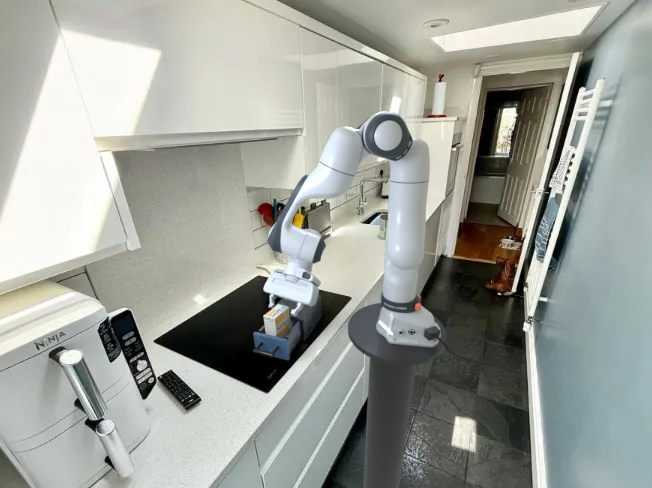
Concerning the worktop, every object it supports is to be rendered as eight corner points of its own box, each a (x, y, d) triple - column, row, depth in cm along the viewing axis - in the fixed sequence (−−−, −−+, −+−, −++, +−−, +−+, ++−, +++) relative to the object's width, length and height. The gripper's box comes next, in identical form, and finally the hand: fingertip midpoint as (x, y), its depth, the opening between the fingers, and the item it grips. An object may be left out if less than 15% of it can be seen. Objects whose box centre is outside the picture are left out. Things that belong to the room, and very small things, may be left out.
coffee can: (387, 233, 210) (388, 213, 204) (398, 237, 202) (399, 216, 196) (375, 236, 205) (376, 215, 199) (386, 240, 197) (387, 219, 191)
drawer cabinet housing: (305, 341, 110) (303, 319, 106) (271, 333, 115) (269, 312, 110) (321, 316, 124) (321, 295, 119) (291, 310, 128) (289, 290, 124)
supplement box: (278, 351, 102) (274, 319, 97) (267, 347, 105) (262, 315, 99) (292, 337, 109) (289, 306, 103) (281, 333, 111) (277, 303, 105)
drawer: (281, 371, 96) (279, 351, 92) (247, 361, 100) (244, 342, 97) (307, 332, 113) (306, 315, 109) (277, 326, 117) (276, 308, 114)
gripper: (268, 265, 109) (253, 301, 106) (317, 277, 99) (302, 317, 96) (277, 271, 114) (263, 306, 111) (325, 283, 104) (311, 322, 101)
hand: (282, 311), depth 103 cm, fingers open, 8 cm apart
